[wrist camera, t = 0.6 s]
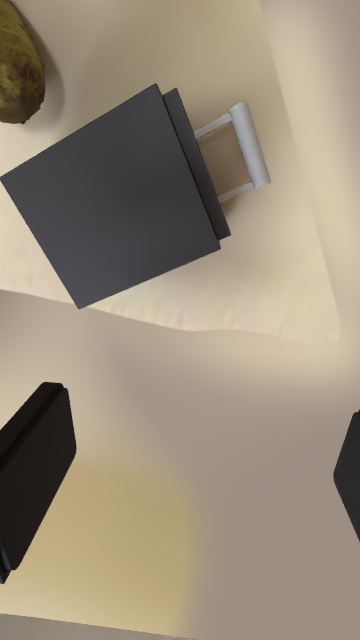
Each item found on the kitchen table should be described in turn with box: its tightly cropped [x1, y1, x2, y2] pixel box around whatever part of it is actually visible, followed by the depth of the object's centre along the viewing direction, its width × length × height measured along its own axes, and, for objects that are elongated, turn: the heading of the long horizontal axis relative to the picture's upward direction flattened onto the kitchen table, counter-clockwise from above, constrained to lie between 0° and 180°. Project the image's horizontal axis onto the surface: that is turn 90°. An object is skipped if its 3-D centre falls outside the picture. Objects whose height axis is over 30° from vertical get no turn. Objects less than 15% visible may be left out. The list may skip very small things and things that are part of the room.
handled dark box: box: [162, 88, 271, 240], centre depth 28 cm, size 18×11×7 cm, turn 114°
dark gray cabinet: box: [0, 83, 221, 309], centre depth 29 cm, size 15×13×9 cm
